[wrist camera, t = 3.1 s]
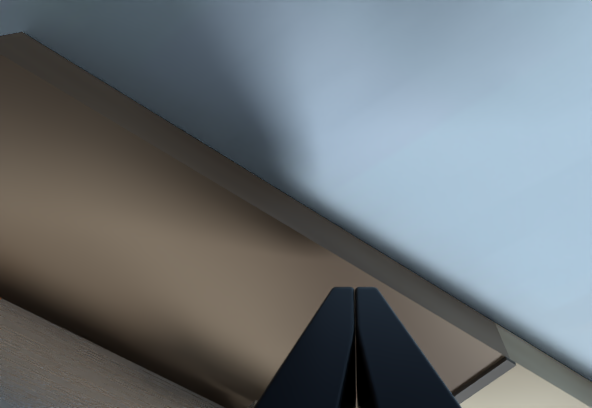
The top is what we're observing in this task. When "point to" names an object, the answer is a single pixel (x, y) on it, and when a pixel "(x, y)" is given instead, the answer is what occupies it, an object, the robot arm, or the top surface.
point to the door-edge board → (204, 252)
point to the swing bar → (75, 371)
